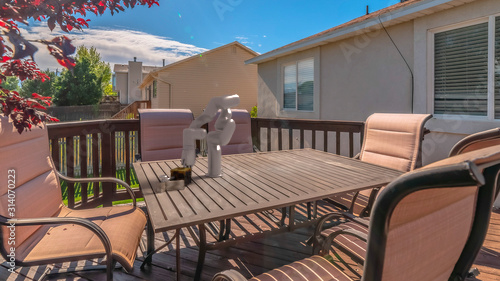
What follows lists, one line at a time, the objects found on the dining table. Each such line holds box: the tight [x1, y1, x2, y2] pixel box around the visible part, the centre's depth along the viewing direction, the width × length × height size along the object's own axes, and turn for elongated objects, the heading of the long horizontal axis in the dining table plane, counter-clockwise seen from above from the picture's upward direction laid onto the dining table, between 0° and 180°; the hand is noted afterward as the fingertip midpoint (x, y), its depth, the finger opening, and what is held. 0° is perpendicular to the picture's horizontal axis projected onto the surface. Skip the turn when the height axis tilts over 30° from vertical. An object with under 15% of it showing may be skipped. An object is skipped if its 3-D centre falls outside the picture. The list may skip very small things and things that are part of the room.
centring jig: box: [156, 178, 185, 194], centre depth 168 cm, size 13×16×5 cm
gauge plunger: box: [158, 174, 175, 183], centre depth 168 cm, size 11×4×4 cm, turn 156°
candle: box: [169, 166, 193, 188], centre depth 179 cm, size 10×10×10 cm
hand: (188, 175), depth 187 cm, fingers closed
